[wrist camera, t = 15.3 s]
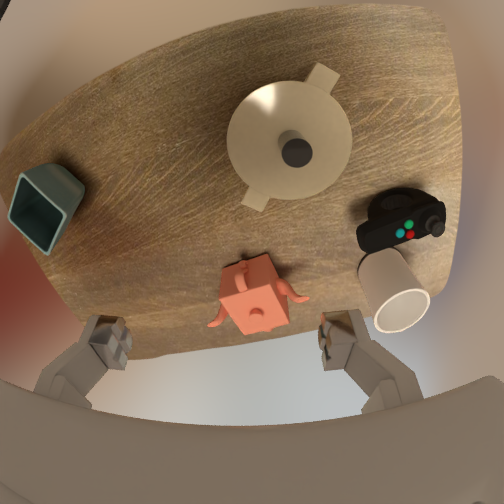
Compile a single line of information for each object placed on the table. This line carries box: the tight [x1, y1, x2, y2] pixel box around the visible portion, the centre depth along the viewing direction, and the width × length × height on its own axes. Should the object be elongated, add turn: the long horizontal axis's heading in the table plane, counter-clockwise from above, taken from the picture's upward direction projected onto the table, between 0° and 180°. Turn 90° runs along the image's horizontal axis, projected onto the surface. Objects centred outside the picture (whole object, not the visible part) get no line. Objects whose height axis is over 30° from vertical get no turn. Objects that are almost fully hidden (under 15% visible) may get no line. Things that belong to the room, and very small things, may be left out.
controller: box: [356, 188, 446, 254], centre depth 32 cm, size 4×12×10 cm, turn 114°
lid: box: [227, 81, 352, 200], centre depth 22 cm, size 11×11×5 cm
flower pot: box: [8, 163, 85, 255], centre depth 31 cm, size 9×9×9 cm
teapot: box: [207, 254, 309, 335], centre depth 41 cm, size 12×15×8 cm
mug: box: [358, 247, 430, 333], centre depth 39 cm, size 11×9×10 cm
